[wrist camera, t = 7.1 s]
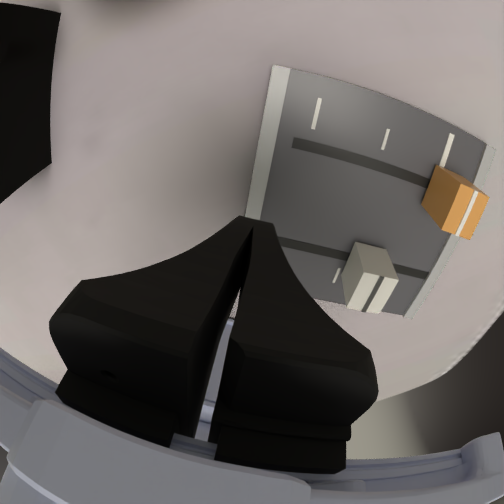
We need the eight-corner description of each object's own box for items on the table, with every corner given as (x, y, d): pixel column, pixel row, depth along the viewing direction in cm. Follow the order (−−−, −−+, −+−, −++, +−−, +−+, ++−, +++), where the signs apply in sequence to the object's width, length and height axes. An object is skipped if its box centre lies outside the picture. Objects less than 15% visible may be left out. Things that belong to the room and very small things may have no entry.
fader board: (408, 307, 24) (412, 319, 22) (236, 272, 24) (233, 283, 23) (485, 144, 15) (496, 149, 13) (274, 66, 15) (273, 64, 14)
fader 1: (370, 281, 21) (379, 315, 18) (341, 275, 21) (346, 309, 18) (386, 249, 19) (399, 281, 16) (355, 241, 19) (364, 273, 16)
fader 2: (447, 214, 17) (470, 240, 14) (420, 204, 17) (441, 230, 14) (463, 176, 15) (490, 198, 12) (436, 164, 15) (461, 184, 12)
